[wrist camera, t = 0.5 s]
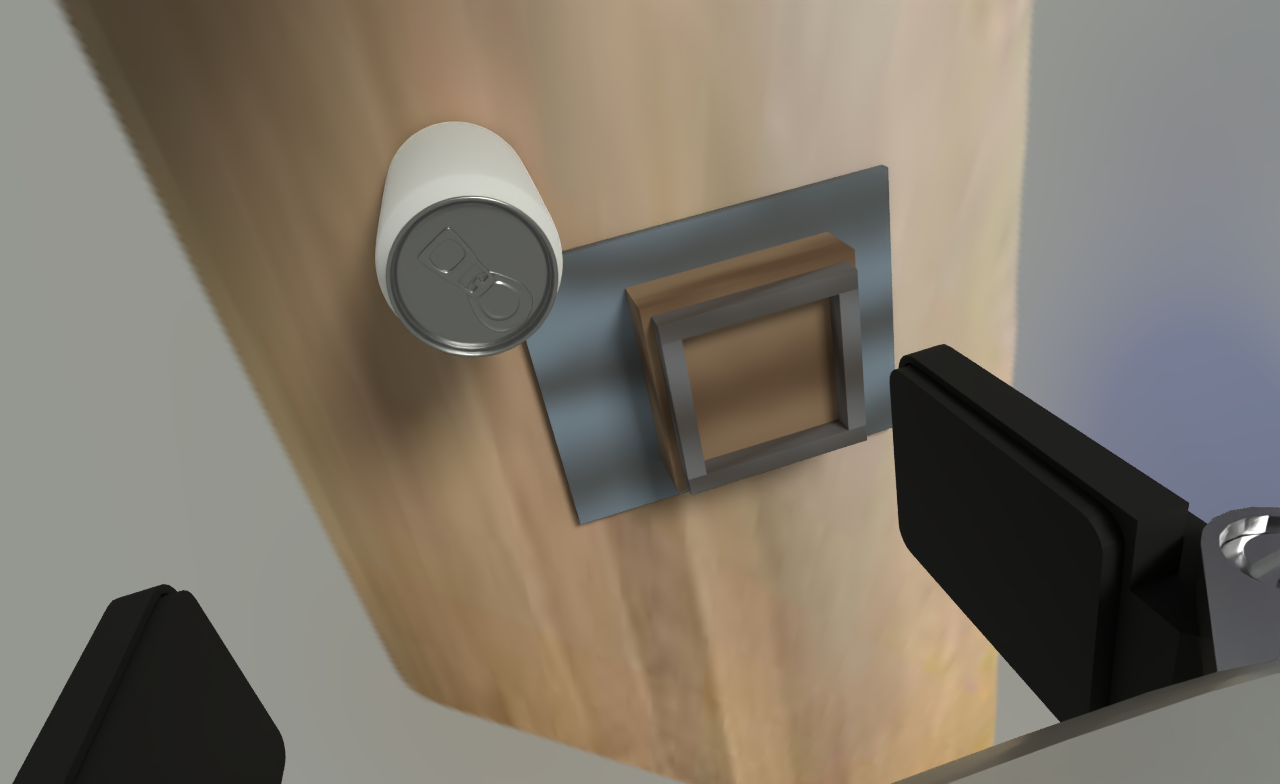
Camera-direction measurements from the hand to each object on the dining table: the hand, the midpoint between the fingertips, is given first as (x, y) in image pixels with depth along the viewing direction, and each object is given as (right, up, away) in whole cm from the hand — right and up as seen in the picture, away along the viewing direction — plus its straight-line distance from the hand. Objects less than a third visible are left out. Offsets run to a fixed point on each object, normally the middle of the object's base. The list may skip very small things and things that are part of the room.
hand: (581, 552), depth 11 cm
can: (-8, +11, +26) cm, 30 cm away
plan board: (+6, +5, +34) cm, 34 cm away
